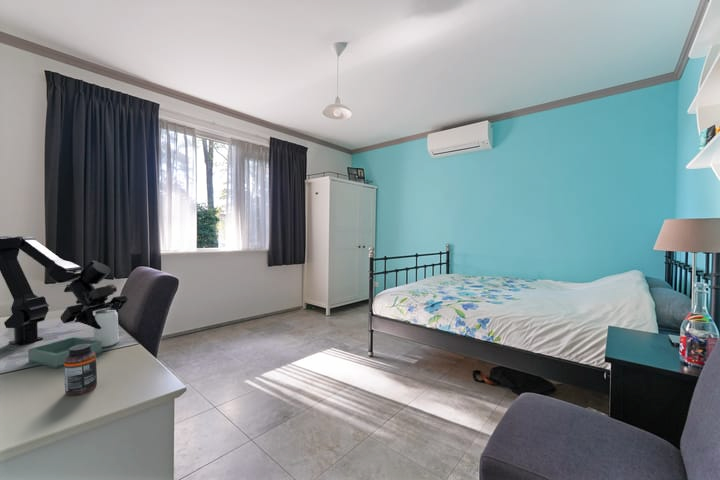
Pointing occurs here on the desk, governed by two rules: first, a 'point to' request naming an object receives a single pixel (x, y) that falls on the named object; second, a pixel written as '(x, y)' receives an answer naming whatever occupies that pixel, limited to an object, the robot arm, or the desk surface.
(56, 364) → the tray
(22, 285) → the robot arm
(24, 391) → the desk surface
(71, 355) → the supplement bottle
